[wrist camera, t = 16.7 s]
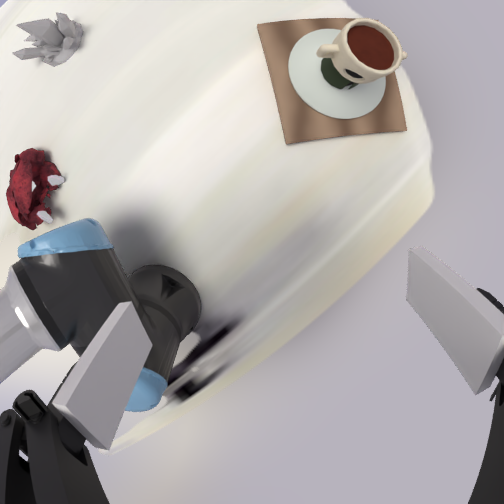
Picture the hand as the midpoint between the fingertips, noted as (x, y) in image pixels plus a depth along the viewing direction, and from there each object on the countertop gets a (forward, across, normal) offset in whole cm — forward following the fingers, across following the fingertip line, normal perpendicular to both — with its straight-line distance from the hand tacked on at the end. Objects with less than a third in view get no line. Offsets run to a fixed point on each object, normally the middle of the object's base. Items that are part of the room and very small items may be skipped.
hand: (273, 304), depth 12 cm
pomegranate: (+32, -40, +12) cm, 53 cm away
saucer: (+30, +15, +16) cm, 37 cm away
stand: (+32, +15, +16) cm, 39 cm away
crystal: (+32, -30, +39) cm, 59 cm away
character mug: (+29, +15, +16) cm, 37 cm away
